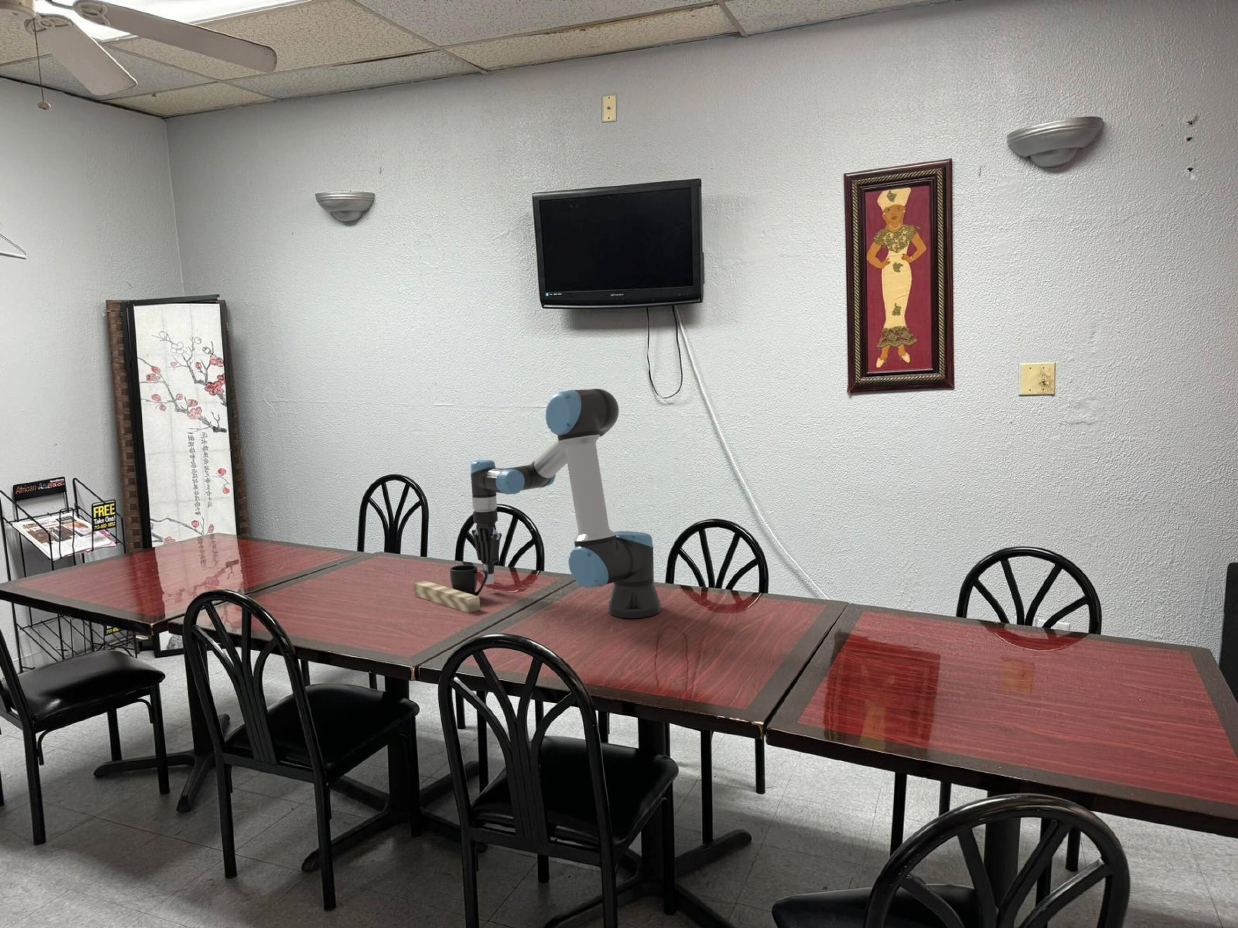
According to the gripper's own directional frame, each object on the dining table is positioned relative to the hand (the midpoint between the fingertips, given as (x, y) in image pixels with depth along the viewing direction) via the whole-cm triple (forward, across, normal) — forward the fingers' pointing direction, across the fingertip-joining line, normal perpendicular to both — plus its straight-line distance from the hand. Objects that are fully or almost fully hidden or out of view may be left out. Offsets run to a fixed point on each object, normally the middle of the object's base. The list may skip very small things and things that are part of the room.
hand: (489, 583), depth 278 cm
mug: (+3, -1, +8) cm, 9 cm away
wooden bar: (+3, 0, +16) cm, 16 cm away
